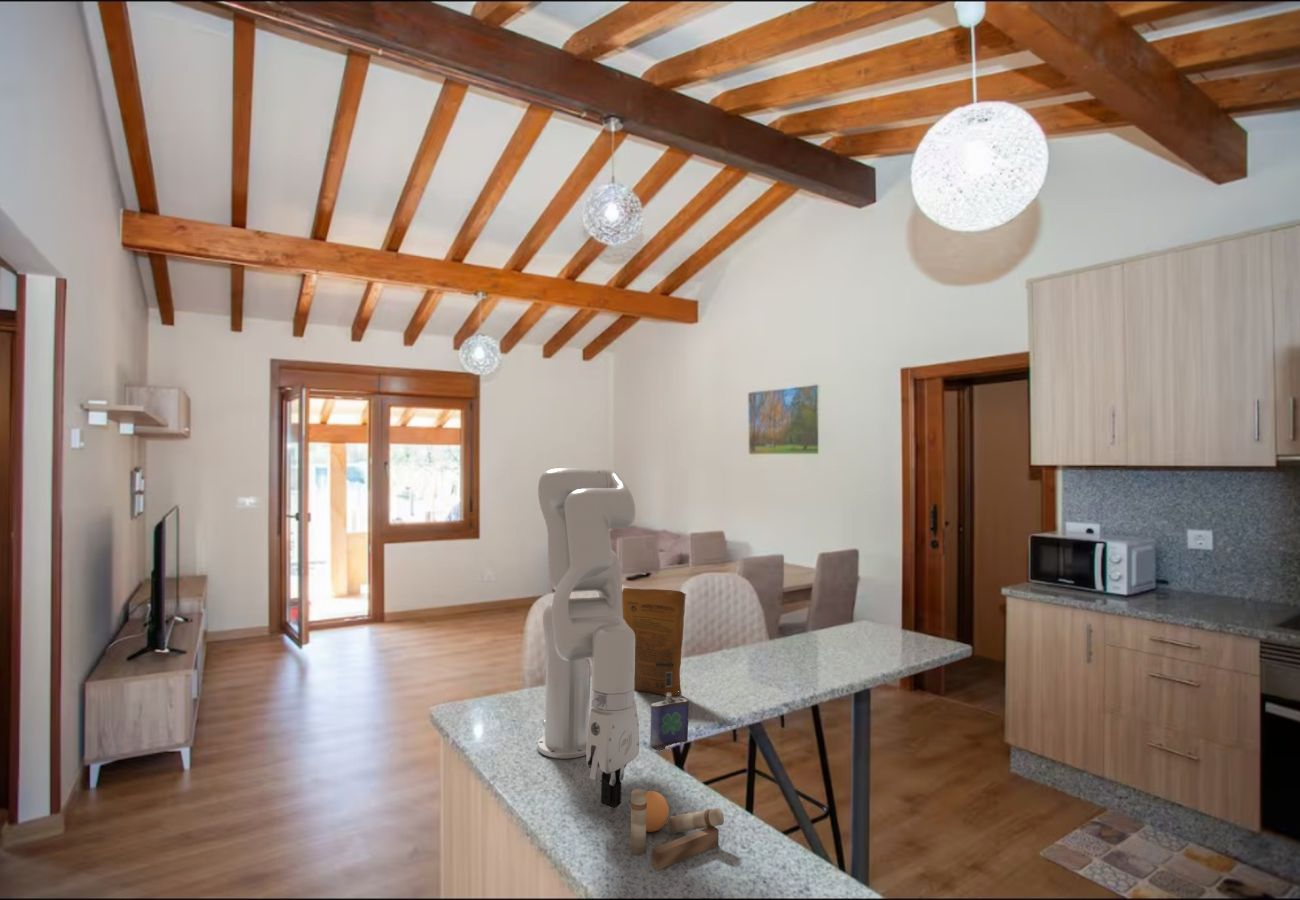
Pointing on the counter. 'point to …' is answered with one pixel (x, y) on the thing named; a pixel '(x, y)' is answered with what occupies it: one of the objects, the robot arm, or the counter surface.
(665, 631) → the pancake mix bag
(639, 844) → the pin side
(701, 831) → the back rail
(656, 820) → the ball
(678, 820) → the pin
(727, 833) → the counter surface
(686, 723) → the flask
